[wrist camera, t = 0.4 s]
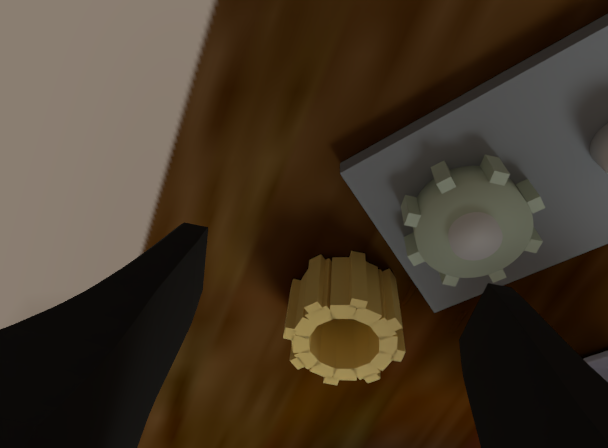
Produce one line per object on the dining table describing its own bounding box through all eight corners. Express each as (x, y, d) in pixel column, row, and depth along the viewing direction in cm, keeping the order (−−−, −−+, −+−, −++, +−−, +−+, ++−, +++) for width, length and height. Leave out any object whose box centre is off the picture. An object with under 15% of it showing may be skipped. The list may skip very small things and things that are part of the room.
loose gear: (418, 309, 25) (427, 361, 22) (327, 346, 27) (325, 398, 24) (364, 232, 23) (367, 279, 20) (269, 279, 25) (259, 327, 22)
